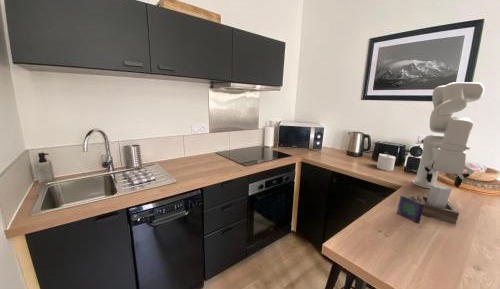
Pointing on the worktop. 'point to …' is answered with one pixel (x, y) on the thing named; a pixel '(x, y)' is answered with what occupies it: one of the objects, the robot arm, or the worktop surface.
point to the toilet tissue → (386, 162)
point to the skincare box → (438, 196)
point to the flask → (410, 208)
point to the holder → (439, 211)
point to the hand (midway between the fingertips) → (442, 183)
